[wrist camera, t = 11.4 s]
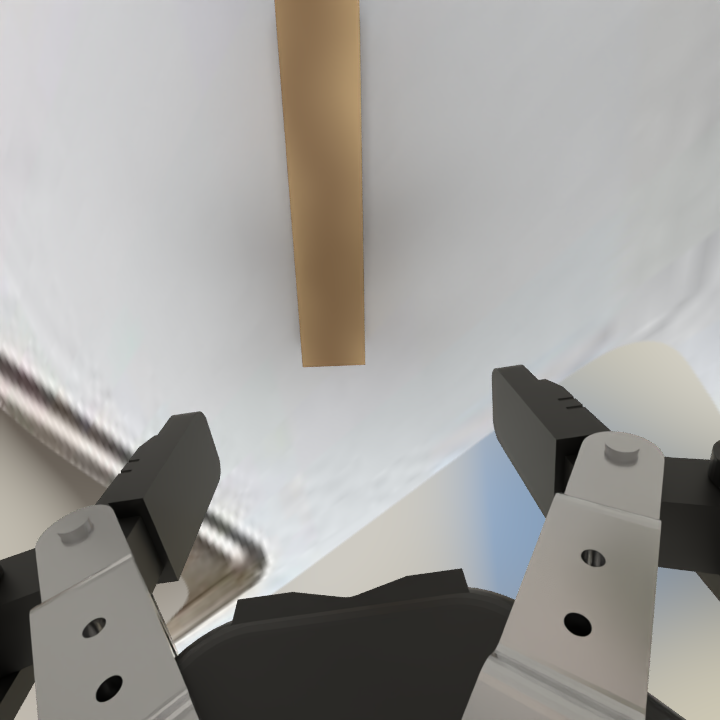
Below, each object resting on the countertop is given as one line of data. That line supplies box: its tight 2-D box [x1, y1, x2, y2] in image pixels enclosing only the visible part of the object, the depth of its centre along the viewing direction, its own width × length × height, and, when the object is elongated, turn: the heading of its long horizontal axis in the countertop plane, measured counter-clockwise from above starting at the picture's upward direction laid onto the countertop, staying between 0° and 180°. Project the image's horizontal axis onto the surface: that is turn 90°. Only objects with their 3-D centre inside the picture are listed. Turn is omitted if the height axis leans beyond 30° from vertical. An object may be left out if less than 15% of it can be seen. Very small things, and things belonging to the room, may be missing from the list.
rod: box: [275, 0, 365, 367], centre depth 23 cm, size 4×17×4 cm, turn 1°
